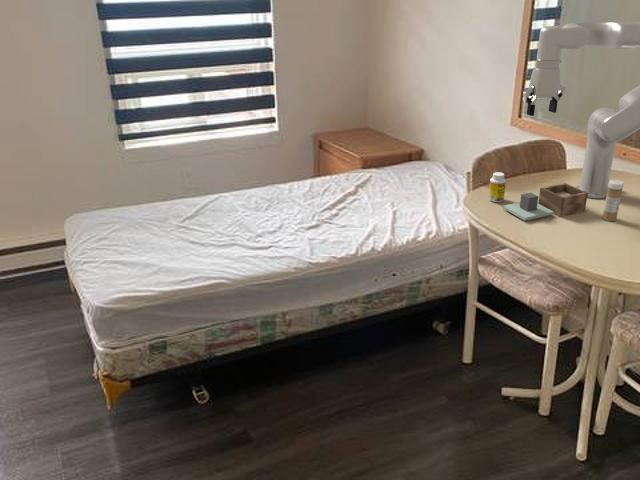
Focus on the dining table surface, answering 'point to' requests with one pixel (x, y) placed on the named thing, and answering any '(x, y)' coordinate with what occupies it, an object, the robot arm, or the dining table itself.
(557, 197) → the storage box
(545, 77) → the robot arm
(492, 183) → the supplement bottle
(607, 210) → the sprinkles bottle
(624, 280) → the dining table surface
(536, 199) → the lid
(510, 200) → the dining table surface
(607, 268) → the dining table surface
